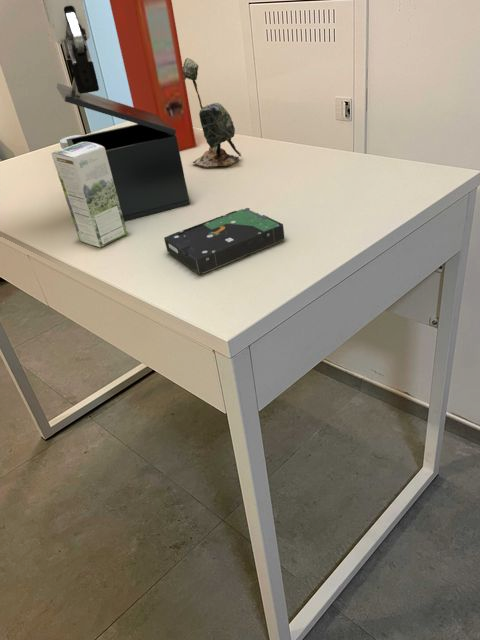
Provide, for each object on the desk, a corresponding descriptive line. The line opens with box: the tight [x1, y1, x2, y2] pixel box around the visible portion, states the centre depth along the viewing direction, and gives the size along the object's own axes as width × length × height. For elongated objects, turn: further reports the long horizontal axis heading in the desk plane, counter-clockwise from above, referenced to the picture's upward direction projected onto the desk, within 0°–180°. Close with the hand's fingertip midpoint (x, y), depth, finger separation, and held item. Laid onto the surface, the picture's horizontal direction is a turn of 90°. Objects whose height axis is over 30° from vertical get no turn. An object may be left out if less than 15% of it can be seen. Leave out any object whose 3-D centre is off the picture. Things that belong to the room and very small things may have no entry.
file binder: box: [108, 0, 197, 152], centre depth 121 cm, size 8×17×32 cm, turn 29°
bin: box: [66, 123, 191, 222], centre depth 97 cm, size 17×14×12 cm
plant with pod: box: [182, 57, 242, 168], centre depth 108 cm, size 8×11×20 cm
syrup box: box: [51, 142, 128, 248], centre depth 85 cm, size 6×6×14 cm
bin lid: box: [56, 71, 176, 135], centre depth 90 cm, size 17×14×5 cm
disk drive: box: [163, 207, 285, 275], centre depth 81 cm, size 10×3×15 cm
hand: (85, 87), depth 87 cm, fingers closed on bin lid, 6 cm apart
